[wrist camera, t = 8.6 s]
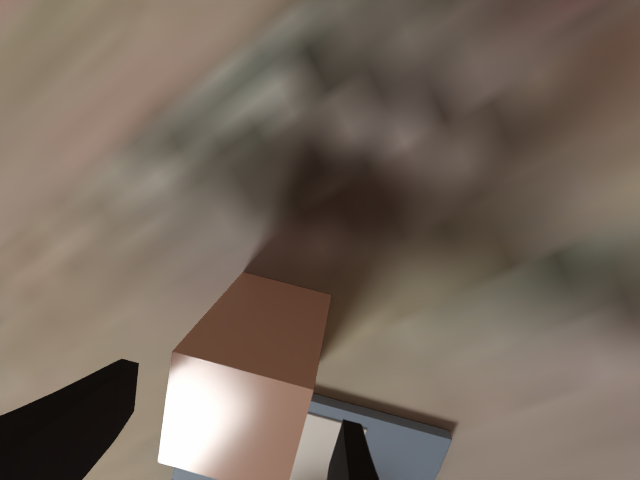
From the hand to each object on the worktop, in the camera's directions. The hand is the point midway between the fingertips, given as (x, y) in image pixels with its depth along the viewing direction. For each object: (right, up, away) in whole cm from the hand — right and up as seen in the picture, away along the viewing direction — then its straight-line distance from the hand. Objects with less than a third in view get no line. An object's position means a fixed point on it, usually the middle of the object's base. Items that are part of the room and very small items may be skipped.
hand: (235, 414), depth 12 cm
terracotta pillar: (+1, +2, +6) cm, 6 cm away
